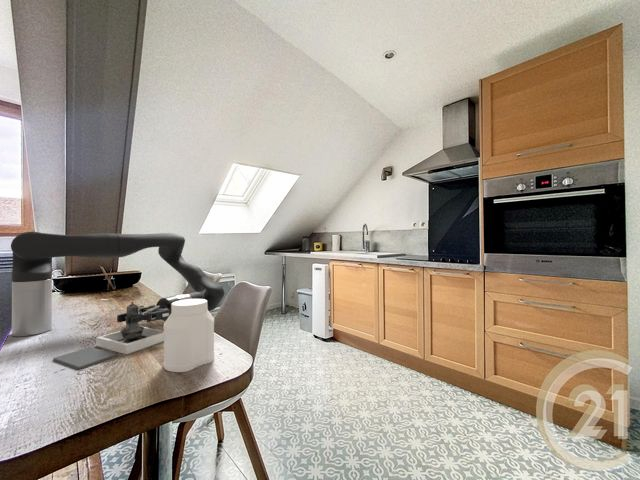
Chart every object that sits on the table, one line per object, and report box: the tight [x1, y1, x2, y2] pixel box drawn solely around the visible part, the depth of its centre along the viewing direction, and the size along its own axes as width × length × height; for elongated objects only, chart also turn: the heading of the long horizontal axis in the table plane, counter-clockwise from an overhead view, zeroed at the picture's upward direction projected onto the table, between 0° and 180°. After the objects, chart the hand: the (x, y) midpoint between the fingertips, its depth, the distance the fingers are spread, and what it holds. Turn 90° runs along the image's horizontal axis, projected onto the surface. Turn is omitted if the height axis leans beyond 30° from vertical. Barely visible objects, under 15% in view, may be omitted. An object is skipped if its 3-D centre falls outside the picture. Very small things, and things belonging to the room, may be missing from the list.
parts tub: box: [95, 325, 164, 355], centre depth 82 cm, size 14×12×2 cm
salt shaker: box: [119, 301, 145, 344], centre depth 82 cm, size 6×6×12 cm
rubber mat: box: [53, 346, 117, 370], centre depth 71 cm, size 12×8×1 cm, turn 65°
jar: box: [162, 299, 215, 373], centre depth 70 cm, size 12×10×15 cm
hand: (122, 319), depth 80 cm, fingers closed on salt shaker, 3 cm apart
